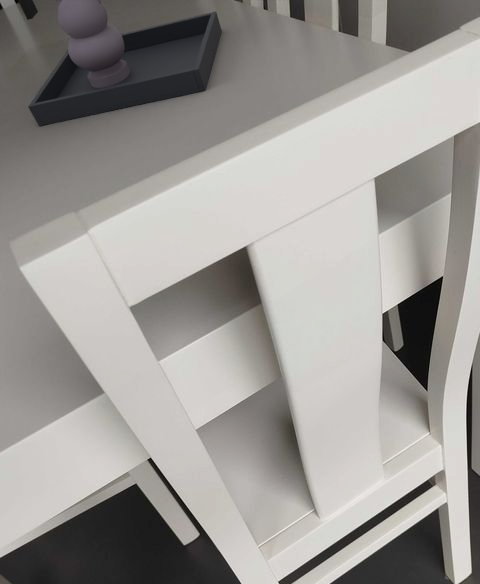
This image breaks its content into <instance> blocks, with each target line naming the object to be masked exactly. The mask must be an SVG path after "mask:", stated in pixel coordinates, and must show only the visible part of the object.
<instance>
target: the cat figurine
mask: <svg viewBox="0 0 480 584" xmlns="http://www.w3.org/2000/svg"><path fill="white" fill-rule="evenodd" d="M55 1H56V4H57V6H58V8H57V20H58V24H59V26H60V27H61V29H62V31H63V32H64V33H65V34H66V35H68V36H69V37H70V38H69V40H68V43H67V44H68V45H67V50H68V52H69V56H70V58H71V60H72V61H73V62H74V63H75V64H76V65H77V66H79V67H80V68H82V69H84V70H88V71H90V72H89V73H88V75H87V77H88V79H89V81H90V84H91V86H93V87H95V88H103V87H108V86H111V85H114V84H116V83H118V82H120V81H122V80H124V79H125V78H126V77H127V76H128V75H129V74H130V70H129V67H128V65H127V62H126V61H124V60H120V59H121V57H122V55H123V53H124V41H123V38H122V36H121V34H122V33H121V32H120V31H119V30H118V29H117V28H115V27H114V26H112V25H110V24H108V17H109V16H108V12H107V8H106V6H105V4H104V3H103V2H102V0H55Z"/></svg>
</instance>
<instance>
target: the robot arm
mask: <svg viewBox="0 0 480 584" xmlns="http://www.w3.org/2000/svg"><path fill="white" fill-rule="evenodd" d="M17 1H18V3H19V6H20V8H21V10H22V12H23V14H24V15H25V18H26V20H32V19H33V18H34V17H35V16H36V15H37V14H38V12H39V11H38V9H37V7H36V4H35V3H34V0H17Z"/></svg>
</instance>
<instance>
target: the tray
mask: <svg viewBox="0 0 480 584" xmlns="http://www.w3.org/2000/svg"><path fill="white" fill-rule="evenodd" d="M120 34H121V36H122V38H123V41H124V53H123V55H122V57H121V59H120V60H124V61H126V62H127V65H128V67H129V70H130V74H129V75H128V76H127V77H126V78H125V79H124V80H122V81H120V82H118V83H116V84H114V85H111V86H108V87H103V88H95V87H93V86H91V84H90V81H89V79H88V77H87V75H88V73H89V72H90V71H88V70H84V69H82V68H80V67H79V66H77V65H76V64H75V63H74V62H73V61H72V60H71V58H70V56H69V52H68V49H67V50H66V51H65V53H64V54H63V56H62V57H61V58H60V60H59V62H57V64H56V66H54V69H53V70H52V71H51V73H49V76H48V78H47V79H46V80H45V81H44V83H43V85H41V88H39V90H38V92H37V93H36V95H35V96H34V98H33V99H32V100H31V102H30V103H29V105H28V106H27V107H28V108H27V109H28V110H29V112H30V113H31V114H32V117H33V118H34V120H35V122H36V123H37V126H38V127H42V126H46V125H50V124H56V123H61V122H66V121H70V120H74V119H80V118H84V117H88V116H93V115H99V114H102V113H106V112H107V113H108V112H112V111H117V110H121V109H122V110H123V109H125V108H132V107H136V106H140V105H145V104H151V103H153V102H159V101H164V100H168V99H172V98H176V97H181V96H186V95H190V94H196V93H201V92H205V91H206V90H207V86H208V83H209V79H210V75H211V72H212V69H213V68H212V67H213V64H214V60H215V57H216V54H217V50H218V46H219V43H220V39H221V35H222V27H221V22H220V20H219V16H218V13H217V11H215V10H214V11H212V12H207V13H203V14H199V15H196V16H191V17H185V18H182V19H178V20H174V21H170V22H166V23H161V24H157V25H153V26H149V27H144V28H141V29H136V30H132V31H128V32H125V33H120ZM163 99H164V100H163Z"/></svg>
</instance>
